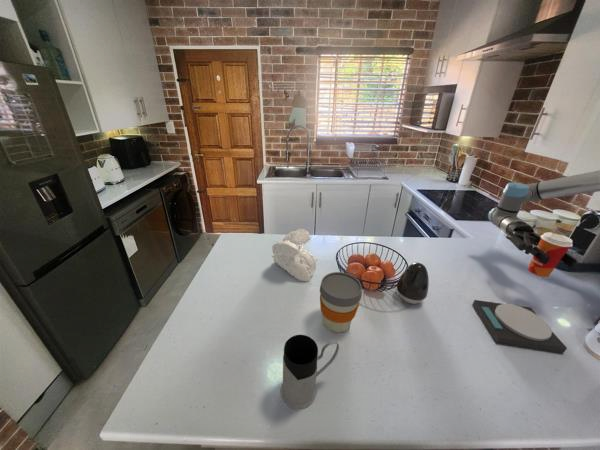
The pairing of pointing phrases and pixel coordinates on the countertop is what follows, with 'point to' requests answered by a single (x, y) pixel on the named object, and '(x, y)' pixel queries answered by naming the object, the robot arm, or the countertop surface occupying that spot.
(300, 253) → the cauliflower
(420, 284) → the dark egg shaped ornament
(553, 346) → the scale
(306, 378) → the glass holder
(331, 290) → the reusable coffee cup
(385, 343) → the countertop surface
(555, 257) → the paper cup
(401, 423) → the countertop surface
